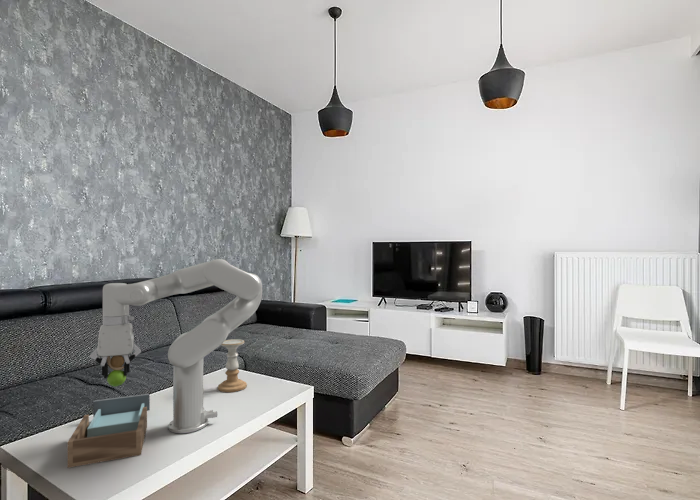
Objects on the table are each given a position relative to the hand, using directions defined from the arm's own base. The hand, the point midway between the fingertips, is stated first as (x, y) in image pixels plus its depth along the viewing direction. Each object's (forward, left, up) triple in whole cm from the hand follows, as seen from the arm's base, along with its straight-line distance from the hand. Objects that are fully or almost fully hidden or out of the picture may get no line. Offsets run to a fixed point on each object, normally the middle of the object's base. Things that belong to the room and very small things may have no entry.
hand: (116, 375), depth 132 cm
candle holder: (-40, -30, -19) cm, 54 cm away
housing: (0, +10, -19) cm, 21 cm away
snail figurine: (0, 0, -4) cm, 4 cm away
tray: (0, -4, -18) cm, 18 cm away
